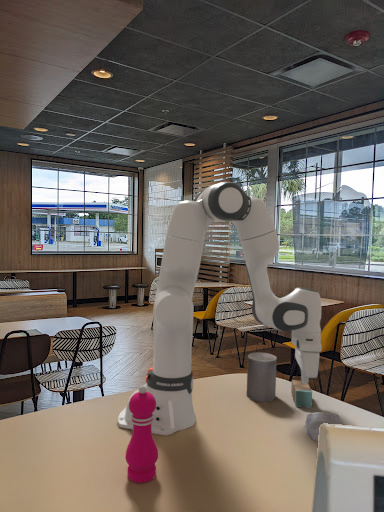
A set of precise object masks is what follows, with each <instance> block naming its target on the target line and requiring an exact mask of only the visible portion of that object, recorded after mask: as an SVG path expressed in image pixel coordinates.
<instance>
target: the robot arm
mask: <svg viewBox="0 0 384 512" xmlns="http://www.w3.org/2000/svg"><path fill="white" fill-rule="evenodd" d="M169 219H170V220H169V222H168V225H167V230H166V235H165V241H164V247H163V252H162V257H161V262H160V263H161V264H160V270H159V276H158V280H157V286H156V291H155V297H154V303H153V306H152V309H153V310H152V311H153V313H152V320H153V321H152V322H153V323H152V324H153V325H152V327H153V330H152V331H153V332H152V334H153V337H152V339H153V340H152V341H153V344H152V345H153V348H152V349H153V352H152V353H153V357H152V359H153V362H152V364H153V366H152V367H149V368H148V370H147V373H146V376H145V384H143V385H142V386H145V387H146V388H147V391H146V392H149V393H151V394H152V395H153V396H154V397H155V400H156V409H155V410H154V412H153V414H154V417H153V418H154V421H153V422H152V425H151V431H152V434H155V435H160V436H161V435H162V436H170V435H172V434H174V433H175V432H176V433H177V432H179V431H183V430H187V429H189V428H190V427H192V426H194V425H195V423H196V421H197V417H196V414H195V413H196V412H195V409H194V404H193V389H194V376H193V373H194V372H193V370H192V347H193V346H192V344H193V330H194V310H195V309H194V307H195V306H194V303H193V296H194V291H195V286H196V283H197V278H198V275H199V271H200V267H201V261H202V260H201V259H202V255H203V250H204V244H205V239H206V238H205V237H206V232H207V230H208V227H209V226H210V224H211V223H212V222H217V223H222V222H230V223H232V224H233V226H234V227H235V229H236V231H237V235H238V239H239V242H240V245H241V250H242V252H243V255H244V260H245V262H244V263H245V267H246V273H247V276H248V281H249V286H250V290H251V295H252V305H251V312H252V316H253V318H254V320H255V321H257V323H259V324H261V325H263V326H268V327H270V328H271V329H272V328H273V329H275V330H277V331H280V332H291V339H290V340H291V344H292V345H293V346H295V349H294V350H295V353H294V358H295V360H296V362H297V364H298V366H299V369H300V375H301V376H300V377H301V378H300V381H302V382H303V384H308V385H309V381H310V380H309V379H317V377H318V375H319V368H320V367H319V366H320V353H321V352H323V351H322V349H323V347H322V343H321V342H322V339H321V338H322V337H321V335H322V328H321V319H322V299H321V295H320V293H319V291H317V290H315V289H310V288H306V287H303V286H301V287H299V286H297V287H295V289H294V290H293V291H291V292H290V293H289V294H286V295H285V296H282V297H278V296H276V295H275V294H274V292H273V291H272V287H271V284H270V280H269V279H270V278H269V274H268V265H269V263H270V262H271V261H273V260H274V259H275V258H276V256H277V255H278V253H279V250H280V243H279V236H278V233H277V230H276V226H275V223H274V220H273V218H272V215H271V213H270V212H269V209H268V206H267V205H266V203H265V202H264V200H262V199H261V198H258V197H250V196H249V195H248V194H247V193H246V192H245V190H244V189H243V188H242V187H241V186H239V185H238V184H237V183H234V182H232V181H221V182H218V183H212V184H211V185H209V186H208V187H205V188H203V190H201V191H200V193H199V194H198V195H197V196H196V198H195V199H194V200H183V201H179V202H177V204H175V206H174V208H173V210H172V213H171V216H170V218H169ZM137 392H139V388H138V389H137V390H135V391H134V392H132V393H131V395H130V396H129V398H128V401H127V403H126V406H125V408H123V409H122V411H120V413H119V415H118V417H117V425H118V427H119V428H122V429H127V430H133V423H132V422H131V415H132V413H131V411H130V409H129V401H130V398H131V397H132V396H133V395H134V394H135V393H137Z"/></svg>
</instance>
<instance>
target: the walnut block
mask: <svg viewBox="0 0 384 512" xmlns="http://www.w3.org/2000/svg"><path fill="white" fill-rule="evenodd" d="M290 387H291V392H290V393H291V394H292V395H291V398H292V397H293V398H292V400H293V403H294V406H295V407H298V408H312V407H313V405H312V404H313V391H312V388H311V387H310V385H309V383H308V384H303V382H302V380H300V379H299V380H296V379H292V380H291V386H290Z"/></svg>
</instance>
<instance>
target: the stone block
mask: <svg viewBox="0 0 384 512" xmlns="http://www.w3.org/2000/svg"><path fill="white" fill-rule="evenodd" d="M323 423H328V424H342V425H344V423H343V422H342V421H341V417H340V415H339V414H333V413H329V412H323V411H321V412H320V411H317V412H310V413H308V414H306V418H305V427H304V428H305V431H306V432H307V435H308V436H309V438H311V439H312V440H313V441H317V442H319V441H318V435H319V427H320V425H321V424H323Z"/></svg>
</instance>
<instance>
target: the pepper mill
mask: <svg viewBox="0 0 384 512" xmlns="http://www.w3.org/2000/svg"><path fill="white" fill-rule="evenodd" d="M138 389H139V392H137V393H135V394H134V395H133V396H132V397H131V398H130V397H129V398H130V401H129V409H130V411H131V413H132V415H131V422H132V423H133V429H132V435H131V437H130V440H129V443H128V445H127V446H126V450H125V461H126V463H127V465H128V466H127V478H128V480H130V481H131V482H133V483H137V484H143V483H144V484H145V483H148V482H150V481H152V480H153V479H154V478H156V474H157V465H156V463H157V461H158V459H159V449H158V445H157V443H156V441H155V439H154V436H153V433H152V431H151V425H152V422H153V421H154V418H153V417H154V414H153V412H154V410H155V409H156V400H155V397H154V396H153V395H152V394H151V393H149V392H146V391H147V388H146V387H145V386H143V385H140V386H139V388H138Z"/></svg>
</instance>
